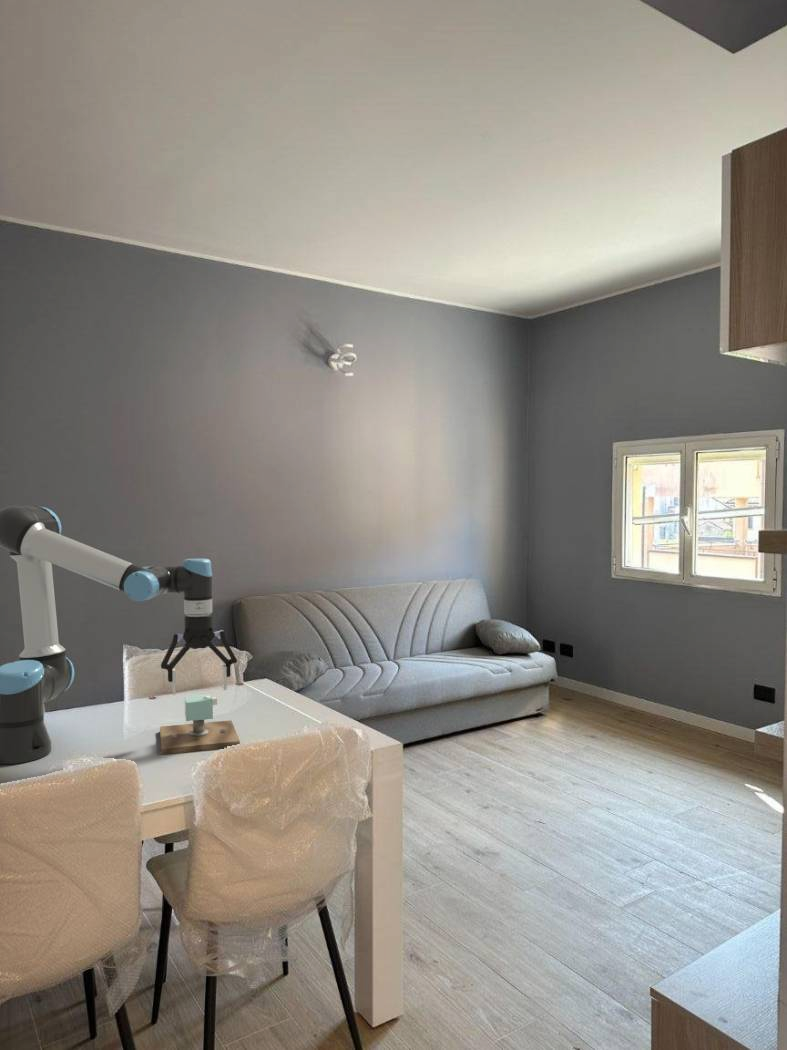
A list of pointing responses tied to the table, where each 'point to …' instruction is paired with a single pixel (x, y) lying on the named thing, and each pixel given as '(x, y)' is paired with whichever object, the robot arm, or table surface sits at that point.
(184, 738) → the walnut base
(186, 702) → the cap
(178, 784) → the table surface
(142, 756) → the table surface
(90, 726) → the table surface
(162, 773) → the table surface
